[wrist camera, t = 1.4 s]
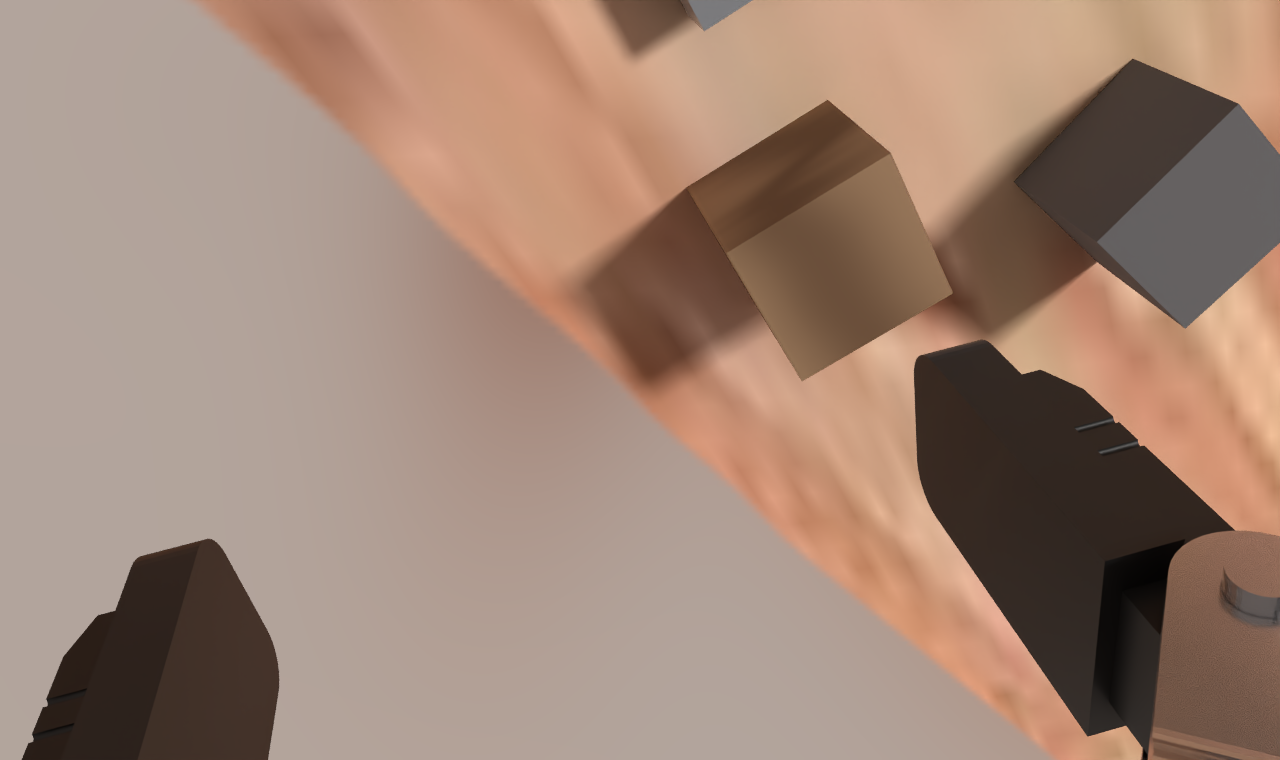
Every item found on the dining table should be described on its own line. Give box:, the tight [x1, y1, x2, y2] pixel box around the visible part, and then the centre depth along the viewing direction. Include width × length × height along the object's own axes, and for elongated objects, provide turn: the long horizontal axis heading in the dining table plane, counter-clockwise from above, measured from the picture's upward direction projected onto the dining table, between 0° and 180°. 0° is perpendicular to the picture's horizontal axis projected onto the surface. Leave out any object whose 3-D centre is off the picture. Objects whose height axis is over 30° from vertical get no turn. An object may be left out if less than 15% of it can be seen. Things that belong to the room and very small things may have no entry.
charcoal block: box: [1014, 59, 1280, 328], centre depth 31 cm, size 5×5×5 cm
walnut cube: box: [687, 100, 953, 381], centre depth 30 cm, size 5×5×5 cm
